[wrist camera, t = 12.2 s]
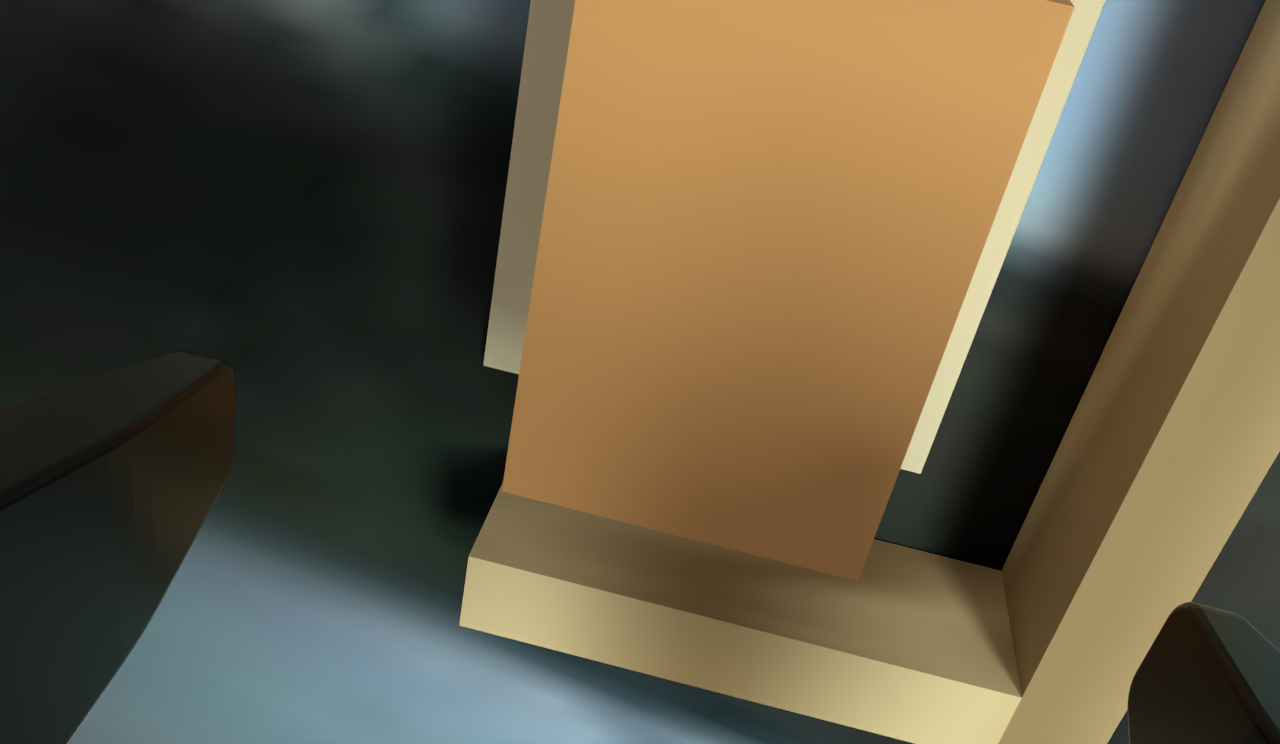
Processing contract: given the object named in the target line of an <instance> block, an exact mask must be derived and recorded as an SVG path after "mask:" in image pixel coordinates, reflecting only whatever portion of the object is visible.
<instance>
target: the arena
mask: <svg viewBox="0 0 1280 744" xmlns="http://www.w3.org/2000/svg"><path fill="white" fill-rule="evenodd" d="M1279 451H1280V0H1265V3H1264V5H1263V7H1262V9H1261V11H1260V13H1259V16H1258V18H1257V20H1256V22H1255V24H1254V26H1253V29H1252V31H1251V33H1250V35H1249V37H1248V39H1247V42H1246V44H1245V46H1244V48H1243V50H1242V52H1241V54H1240V57H1239V59H1238V61H1237V63H1236V65H1235V67H1234V70H1233V72H1232V74H1231V76H1230V78H1229V80H1228V83H1227V85H1226V87H1225V89H1224V91H1223V93H1222V95H1221V98H1220V100H1219V102H1218V104H1217V106H1216V108H1215V111H1214V113H1213V115H1212V117H1211V119H1210V121H1209V124H1208V126H1207V128H1206V130H1205V132H1204V134H1203V137H1202V139H1201V141H1200V143H1199V145H1198V147H1197V149H1196V152H1195V154H1194V156H1193V158H1192V160H1191V162H1190V165H1189V167H1188V169H1187V171H1186V173H1185V175H1184V178H1183V180H1182V182H1181V184H1180V186H1179V188H1178V191H1177V193H1176V195H1175V197H1174V199H1173V201H1172V203H1171V206H1170V208H1169V210H1168V212H1167V214H1166V216H1165V219H1164V221H1163V223H1162V225H1161V227H1160V229H1159V232H1158V234H1157V236H1156V238H1155V240H1154V242H1153V244H1152V247H1151V249H1150V251H1149V253H1148V255H1147V257H1146V260H1145V262H1144V264H1143V266H1142V268H1141V270H1140V273H1139V275H1138V277H1137V279H1136V281H1135V283H1134V286H1133V288H1132V290H1131V292H1130V294H1129V296H1128V298H1127V301H1126V303H1125V305H1124V307H1123V309H1122V311H1121V314H1120V316H1119V318H1118V320H1117V322H1116V324H1115V327H1114V329H1113V331H1112V333H1111V335H1110V337H1109V340H1108V342H1107V344H1106V346H1105V348H1104V350H1103V352H1102V355H1101V357H1100V359H1099V361H1098V363H1097V365H1096V368H1095V370H1094V372H1093V374H1092V376H1091V378H1090V381H1089V383H1088V385H1087V387H1086V389H1085V391H1084V393H1083V396H1082V398H1081V400H1080V402H1079V404H1078V406H1077V409H1076V411H1075V413H1074V415H1073V417H1072V419H1071V422H1070V424H1069V426H1068V428H1067V430H1066V432H1065V435H1064V437H1063V439H1062V441H1061V443H1060V445H1059V447H1058V450H1057V452H1056V454H1055V456H1054V458H1053V460H1052V463H1051V465H1050V467H1049V469H1048V471H1047V473H1046V476H1045V478H1044V480H1043V482H1042V484H1041V486H1040V488H1039V491H1038V493H1037V495H1036V497H1035V499H1034V501H1033V504H1032V506H1031V508H1030V510H1029V512H1028V514H1027V517H1026V519H1025V521H1024V523H1023V525H1022V527H1021V530H1020V532H1019V534H1018V536H1017V538H1016V540H1015V542H1014V545H1013V547H1012V549H1011V551H1010V553H1009V555H1008V558H1007V560H1006V562H1005V564H1004V566H1003V568H1002V571H1000V570H996V569H992V568H988V567H984V566H980V565H976V564H972V563H968V562H964V561H960V560H956V559H952V558H948V557H944V556H940V555H936V554H932V553H928V552H924V551H920V550H916V549H912V548H908V547H904V546H900V545H896V544H892V543H888V542H884V541H880V540H876V539H874V540H873V542H872V545H871V548H870V550H869V553H868V556H867V558H866V561H865V564H864V566H863V569H862V571H861V574H860V577H859V579H858V581H855V580H851V579H847V578H843V577H839V576H835V575H831V574H827V573H823V572H819V571H815V570H811V569H807V568H803V567H799V566H795V565H791V564H787V563H783V562H779V561H775V560H772V559H768V558H764V557H760V556H756V555H752V554H748V553H744V552H740V551H736V550H732V549H728V548H724V547H720V546H716V545H712V544H708V543H704V542H700V541H696V540H692V539H688V538H684V537H681V536H677V535H673V534H669V533H665V532H661V531H657V530H653V529H649V528H645V527H641V526H637V525H633V524H629V523H625V522H621V521H617V520H613V519H609V518H605V517H601V516H597V515H593V514H590V513H586V512H582V511H578V510H574V509H570V508H566V507H562V506H558V505H554V504H550V503H546V502H542V501H538V500H534V499H530V498H526V497H522V496H518V495H514V494H510V493H506V492H502V486H503V483H502V485H501V487H500V489H499V491H498V494H497V496H496V498H495V500H494V502H493V504H492V507H491V509H490V511H489V513H488V515H487V518H486V520H485V522H484V524H483V526H482V528H481V531H480V533H479V535H478V537H477V539H476V542H475V544H474V546H473V548H472V550H471V552H470V555H469V558H468V565H467V573H466V580H465V587H464V595H463V602H462V609H461V617H460V624H459V625H460V626H464V627H467V628H471V629H475V630H479V631H483V632H487V633H491V634H494V635H498V636H502V637H506V638H510V639H514V640H518V641H521V642H525V643H529V644H533V645H537V646H541V647H545V648H548V649H552V650H556V651H560V652H564V653H568V654H572V655H575V656H579V657H583V658H587V659H591V660H595V661H599V662H602V663H606V664H610V665H614V666H618V667H622V668H626V669H629V670H633V671H637V672H641V673H645V674H649V675H653V676H656V677H660V678H664V679H668V680H672V681H676V682H680V683H683V684H687V685H691V686H695V687H699V688H703V689H707V690H710V691H714V692H718V693H722V694H726V695H730V696H734V697H737V698H741V699H745V700H749V701H753V702H757V703H761V704H765V705H768V706H772V707H776V708H780V709H784V710H788V711H792V712H795V713H799V714H803V715H807V716H811V717H815V718H819V719H822V720H826V721H830V722H834V723H838V724H842V725H846V726H849V727H853V728H857V729H861V730H865V731H869V732H873V733H876V734H880V735H884V736H888V737H892V738H896V739H900V740H903V741H907V742H911V743H915V744H1107V743H1108V741H1109V739H1110V738H1111V736H1112V734H1113V733H1114V731H1115V729H1116V728H1117V726H1118V724H1119V723H1120V721H1121V719H1122V717H1123V716H1124V714H1125V712H1126V711H1127V709H1128V695H1129V690H1130V686H1131V683H1132V680H1133V677H1134V675H1135V673H1136V671H1137V670H1138V668H1139V666H1140V665H1141V663H1142V661H1143V659H1144V658H1145V656H1146V654H1147V652H1148V651H1149V649H1150V647H1151V646H1152V644H1153V642H1154V640H1155V639H1156V637H1157V635H1158V633H1159V632H1160V630H1161V628H1162V627H1163V625H1164V623H1165V621H1166V620H1167V618H1168V616H1169V615H1170V614H1171V612H1172V611H1173V610H1174V609H1175V608H1176V607H1177V606H1178V605H1180V604H1183V603H1187V602H1191V600H1192V599H1193V597H1194V595H1195V594H1196V592H1197V590H1198V589H1199V587H1200V585H1201V584H1202V582H1203V580H1204V578H1205V577H1206V575H1207V573H1208V572H1209V570H1210V568H1211V567H1212V565H1213V563H1214V562H1215V560H1216V558H1217V556H1218V555H1219V553H1220V551H1221V550H1222V548H1223V546H1224V545H1225V543H1226V541H1227V539H1228V538H1229V536H1230V534H1231V533H1232V531H1233V529H1234V528H1235V526H1236V524H1237V523H1238V521H1239V519H1240V517H1241V516H1242V514H1243V512H1244V511H1245V509H1246V507H1247V506H1248V504H1249V502H1250V500H1251V499H1252V497H1253V495H1254V494H1255V492H1256V490H1257V489H1258V487H1259V485H1260V484H1261V482H1262V480H1263V478H1264V477H1265V475H1266V473H1267V472H1268V470H1269V468H1270V467H1271V465H1272V463H1273V461H1274V460H1275V458H1276V456H1277V455H1278V453H1279Z"/></svg>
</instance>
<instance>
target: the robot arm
mask: <svg viewBox="0 0 1280 744" xmlns="http://www.w3.org/2000/svg"><path fill="white" fill-rule="evenodd" d="M235 448H236V421H235V377H234V373H233V370H232V368H231V367H230V366H229V365H228V364H227V363H226V362H224V361H221V360H217V359H213V358H209V357H205V356H201V355H197V354H193V353H189V352H185V351H176V352H172V353H169V354H166V355H163V356H160V357H157V358H154V359H150V360H147V361H144V362H141V363H138V364H135V365H132V366H129V367H125V368H122V369H119V370H116V371H113V372H110V373H107V374H104V375H100V376H97V377H94V378H91V379H88V380H85V381H82V382H79V383H75V384H72V385H69V386H66V387H63V388H60V389H57V390H54V391H50V392H47V393H44V394H41V395H38V396H35V397H32V398H29V399H25V400H22V401H19V402H16V403H13V404H10V405H7V406H4V407H0V744H66V743H67V742H68V741H69V739H70V738H71V736H72V735H73V734H74V732H75V731H76V729H77V728H78V726H79V725H80V724H81V722H82V721H83V719H84V718H85V716H86V715H87V714H88V712H89V711H90V709H91V708H92V707H93V705H94V704H95V702H96V701H97V699H98V698H99V697H100V695H101V694H102V692H103V691H104V689H105V688H106V687H107V685H108V684H109V682H110V681H111V680H112V678H113V677H114V675H115V674H116V672H117V671H118V670H119V668H120V667H121V665H122V664H123V662H124V661H125V660H126V658H127V657H128V655H129V654H130V652H131V650H132V649H133V647H134V646H135V644H136V643H137V641H138V640H139V638H140V637H141V635H142V634H143V632H144V630H145V629H146V627H147V625H148V623H149V622H150V620H151V618H152V617H153V615H154V613H155V611H156V610H157V608H158V606H159V604H160V602H161V601H162V599H163V597H164V595H165V593H166V591H167V589H168V588H169V586H170V584H171V582H172V580H173V578H174V577H175V575H176V573H177V571H178V569H179V567H180V565H181V564H182V562H183V560H184V558H185V556H186V554H187V553H188V551H189V549H190V547H191V545H192V543H193V541H194V540H195V538H196V536H197V534H198V532H199V530H200V529H201V527H202V525H203V523H204V521H205V519H206V517H207V516H208V514H209V512H210V510H211V508H212V506H213V505H214V503H215V501H216V499H217V497H218V495H219V493H220V492H221V490H222V488H223V486H224V484H225V482H226V480H227V478H228V476H229V474H230V471H231V469H232V465H233V461H234V457H235ZM1128 728H1129V744H1280V651H1279V650H1278V649H1277V648H1276V647H1275V646H1274V645H1273V644H1272V643H1271V642H1269V641H1268V640H1267V639H1266V638H1265V637H1264V636H1263V635H1262V634H1261V633H1260V632H1259V631H1258V630H1257V629H1255V628H1254V627H1253V626H1252V625H1251V624H1250V623H1249V622H1248V621H1247V620H1246V619H1245V618H1243V617H1242V616H1240V615H1238V614H1236V613H1234V612H1230V611H1226V610H1222V609H1218V608H1213V607H1209V606H1205V605H1201V604H1197V603H1193V602H1187V603H1183V604H1180V605H1178V606H1177V607H1176V608H1175V609H1174V610H1173V611H1172V612H1171V614H1170V615H1169V616H1168V618H1167V620H1166V621H1165V623H1164V625H1163V627H1162V628H1161V630H1160V632H1159V633H1158V635H1157V637H1156V639H1155V640H1154V642H1153V644H1152V646H1151V647H1150V649H1149V651H1148V652H1147V654H1146V656H1145V658H1144V659H1143V661H1142V663H1141V665H1140V666H1139V668H1138V670H1137V671H1136V673H1135V675H1134V677H1133V680H1132V683H1131V686H1130V690H1129V695H1128Z"/></svg>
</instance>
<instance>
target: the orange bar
mask: <svg viewBox="0 0 1280 744" xmlns="http://www.w3.org/2000/svg"><path fill="white" fill-rule="evenodd" d="M1073 10H1074V5H1073V4H1072V2H1071V1H1070V0H575V6H574V13H573V20H572V26H571V33H570V40H569V46H568V53H567V59H566V66H565V73H564V79H563V86H562V93H561V99H560V106H559V113H558V119H557V126H556V133H555V139H554V146H553V153H552V159H551V166H550V173H549V179H548V186H547V193H546V199H545V206H544V213H543V219H542V226H541V233H540V239H539V246H538V253H537V259H536V266H535V273H534V279H533V286H532V292H531V299H530V306H529V312H528V319H527V326H526V332H525V339H524V346H523V352H522V359H521V366H520V372H519V379H518V386H517V392H516V399H515V406H514V412H513V419H512V426H511V432H510V439H509V446H508V452H507V459H506V466H505V472H504V479H503V486H502V492H506V493H510V494H514V495H518V496H522V497H526V498H530V499H534V500H538V501H542V502H546V503H550V504H554V505H558V506H562V507H566V508H570V509H574V510H578V511H582V512H586V513H590V514H593V515H597V516H601V517H605V518H609V519H613V520H617V521H621V522H625V523H629V524H633V525H637V526H641V527H645V528H649V529H653V530H657V531H661V532H665V533H669V534H673V535H677V536H681V537H684V538H688V539H692V540H696V541H700V542H704V543H708V544H712V545H716V546H720V547H724V548H728V549H732V550H736V551H740V552H744V553H748V554H752V555H756V556H760V557H764V558H768V559H772V560H775V561H779V562H783V563H787V564H791V565H795V566H799V567H803V568H807V569H811V570H815V571H819V572H823V573H827V574H831V575H835V576H839V577H843V578H847V579H851V580H855V581H858V579H859V577H860V574H861V571H862V569H863V566H864V564H865V561H866V558H867V556H868V553H869V550H870V548H871V545H872V542H873V540H874V537H875V534H876V532H877V529H878V526H879V524H880V521H881V518H882V516H883V513H884V511H885V508H886V505H887V503H888V500H889V497H890V495H891V492H892V489H893V487H894V484H895V481H896V479H897V476H898V473H899V471H900V468H901V465H902V463H903V460H904V458H905V455H906V452H907V450H908V447H909V444H910V442H911V439H912V436H913V434H914V431H915V428H916V426H917V423H918V420H919V418H920V415H921V412H922V410H923V407H924V405H925V402H926V399H927V397H928V394H929V391H930V389H931V386H932V383H933V381H934V378H935V375H936V373H937V370H938V367H939V365H940V362H941V360H942V357H943V354H944V352H945V349H946V346H947V344H948V341H949V338H950V336H951V333H952V330H953V328H954V325H955V322H956V320H957V317H958V314H959V312H960V309H961V307H962V304H963V301H964V299H965V296H966V293H967V291H968V288H969V285H970V283H971V280H972V277H973V275H974V272H975V269H976V267H977V264H978V261H979V259H980V256H981V254H982V251H983V248H984V246H985V243H986V240H987V238H988V235H989V232H990V230H991V227H992V224H993V222H994V219H995V216H996V214H997V211H998V208H999V206H1000V203H1001V201H1002V198H1003V195H1004V193H1005V190H1006V187H1007V185H1008V182H1009V179H1010V177H1011V174H1012V171H1013V169H1014V166H1015V163H1016V161H1017V158H1018V155H1019V153H1020V150H1021V148H1022V145H1023V142H1024V140H1025V137H1026V134H1027V132H1028V129H1029V126H1030V124H1031V121H1032V118H1033V116H1034V113H1035V110H1036V108H1037V105H1038V103H1039V100H1040V97H1041V95H1042V92H1043V89H1044V87H1045V84H1046V81H1047V79H1048V76H1049V73H1050V71H1051V68H1052V65H1053V63H1054V60H1055V57H1056V55H1057V52H1058V50H1059V47H1060V44H1061V42H1062V39H1063V36H1064V34H1065V31H1066V28H1067V26H1068V23H1069V20H1070V18H1071V15H1072V12H1073Z"/></svg>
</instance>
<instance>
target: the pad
mask: <svg viewBox="0 0 1280 744" xmlns="http://www.w3.org/2000/svg"><path fill="white" fill-rule="evenodd" d="M1070 1H1071V2H1072V4H1073V5H1074V10H1073V12H1072V15H1071V18H1070V20H1069V23H1068V26H1067V28H1066V31H1065V34H1064V36H1063V39H1062V42H1061V44H1060V47H1059V50H1058V52H1057V55H1056V57H1055V60H1054V63H1053V65H1052V68H1051V71H1050V73H1049V76H1048V79H1047V81H1046V84H1045V87H1044V89H1043V92H1042V95H1041V97H1040V100H1039V103H1038V105H1037V108H1036V110H1035V113H1034V116H1033V118H1032V121H1031V124H1030V126H1029V129H1028V132H1027V134H1026V137H1025V140H1024V142H1023V145H1022V148H1021V150H1020V153H1019V155H1018V158H1017V161H1016V163H1015V166H1014V169H1013V171H1012V174H1011V177H1010V179H1009V182H1008V185H1007V187H1006V190H1005V193H1004V195H1003V198H1002V201H1001V203H1000V206H999V208H998V211H997V214H996V216H995V219H994V222H993V224H992V227H991V230H990V232H989V235H988V238H987V240H986V243H985V246H984V248H983V251H982V254H981V256H980V259H979V261H978V264H977V267H976V269H975V272H974V275H973V277H972V280H971V283H970V285H969V288H968V291H967V293H966V296H965V299H964V301H963V304H962V307H961V309H960V312H959V314H958V317H957V320H956V322H955V325H954V328H953V330H952V333H951V336H950V338H949V341H948V344H947V346H946V349H945V352H944V354H943V357H942V360H941V362H940V365H939V367H938V370H937V373H936V375H935V378H934V381H933V383H932V386H931V389H930V391H929V394H928V397H927V399H926V402H925V405H924V407H923V410H922V412H921V415H920V418H919V420H918V423H917V426H916V428H915V431H914V434H913V436H912V439H911V442H910V444H909V447H908V450H907V452H906V455H905V458H904V460H903V463H902V465H901V468H900V469H903V470H907V471H911V472H915V473H919V474H921V471H922V469H923V466H924V464H925V461H926V459H927V456H928V453H929V451H930V448H931V446H932V443H933V441H934V438H935V436H936V433H937V430H938V428H939V425H940V423H941V420H942V418H943V415H944V413H945V410H946V407H947V405H948V402H949V400H950V397H951V395H952V392H953V389H954V387H955V384H956V382H957V379H958V377H959V374H960V372H961V369H962V366H963V364H964V361H965V359H966V356H967V354H968V351H969V349H970V346H971V343H972V341H973V338H974V336H975V333H976V331H977V328H978V325H979V323H980V320H981V318H982V315H983V313H984V310H985V308H986V305H987V302H988V300H989V297H990V295H991V292H992V290H993V287H994V285H995V282H996V279H997V277H998V274H999V272H1000V269H1001V267H1002V264H1003V261H1004V259H1005V256H1006V254H1007V251H1008V249H1009V246H1010V244H1011V241H1012V238H1013V236H1014V233H1015V231H1016V228H1017V226H1018V223H1019V221H1020V218H1021V215H1022V213H1023V210H1024V208H1025V205H1026V203H1027V200H1028V197H1029V195H1030V192H1031V190H1032V187H1033V185H1034V182H1035V180H1036V177H1037V174H1038V172H1039V169H1040V167H1041V164H1042V162H1043V159H1044V156H1045V154H1046V151H1047V149H1048V146H1049V144H1050V141H1051V139H1052V136H1053V133H1054V131H1055V128H1056V126H1057V123H1058V121H1059V118H1060V116H1061V113H1062V110H1063V108H1064V105H1065V103H1066V100H1067V98H1068V95H1069V92H1070V90H1071V87H1072V85H1073V82H1074V80H1075V77H1076V75H1077V72H1078V69H1079V67H1080V64H1081V62H1082V59H1083V57H1084V54H1085V52H1086V49H1087V46H1088V44H1089V41H1090V39H1091V36H1092V34H1093V31H1094V28H1095V26H1096V23H1097V21H1098V18H1099V16H1100V13H1101V11H1102V8H1103V5H1104V3H1105V0H1070ZM574 6H575V0H531V2H530V10H529V18H528V25H527V33H526V41H525V48H524V56H523V64H522V71H521V79H520V87H519V94H518V102H517V110H516V117H515V125H514V133H513V140H512V148H511V156H510V163H509V171H508V179H507V186H506V194H505V202H504V210H503V217H502V225H501V233H500V240H499V248H498V256H497V263H496V271H495V279H494V286H493V294H492V302H491V309H490V317H489V325H488V332H487V340H486V348H485V355H484V363H483V366H487V367H491V368H495V369H499V370H503V371H507V372H511V373H515V374H519V372H520V366H521V359H522V352H523V346H524V339H525V332H526V326H527V319H528V312H529V306H530V299H531V292H532V286H533V279H534V273H535V266H536V259H537V253H538V246H539V239H540V233H541V226H542V219H543V213H544V206H545V199H546V193H547V186H548V179H549V173H550V166H551V159H552V153H553V146H554V139H555V133H556V126H557V119H558V113H559V106H560V99H561V93H562V86H563V79H564V73H565V66H566V59H567V53H568V46H569V40H570V33H571V26H572V20H573V13H574Z"/></svg>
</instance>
